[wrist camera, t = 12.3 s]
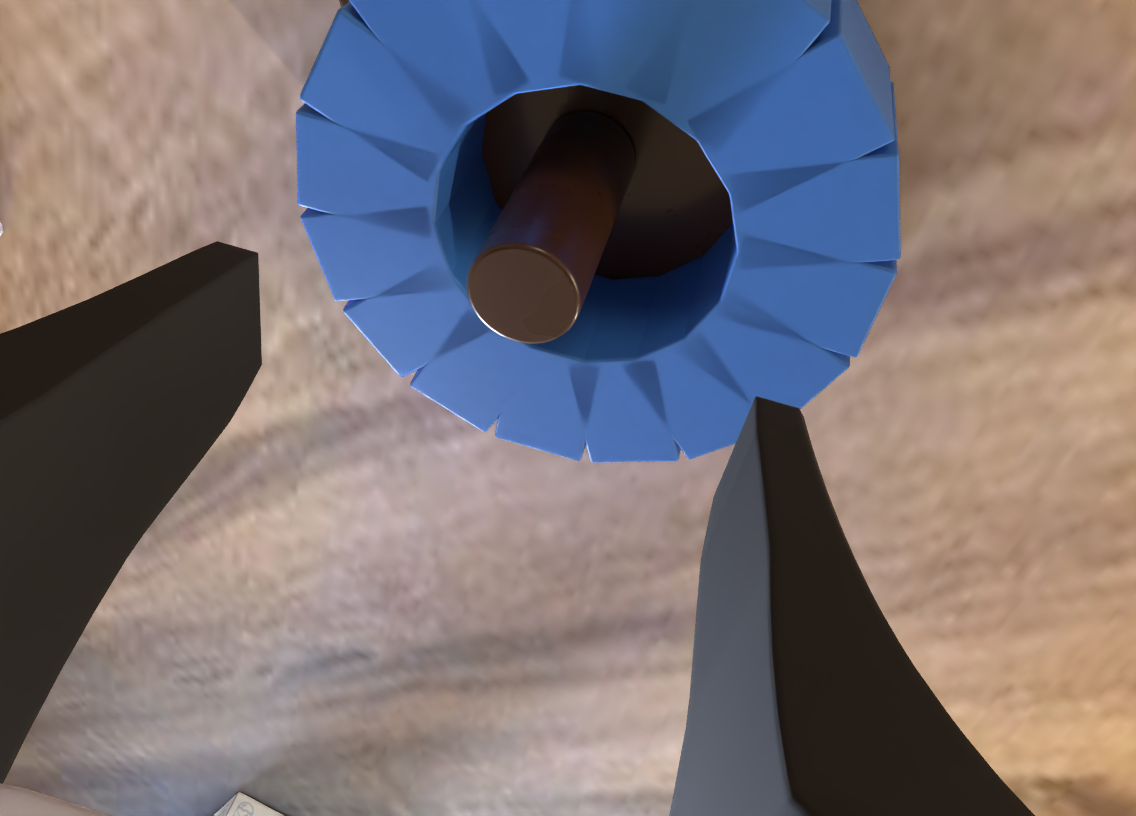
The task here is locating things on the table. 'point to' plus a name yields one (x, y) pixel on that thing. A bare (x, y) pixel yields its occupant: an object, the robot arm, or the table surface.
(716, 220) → the stand
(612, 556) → the table surface
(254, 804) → the light bulb box
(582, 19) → the tape
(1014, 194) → the table surface
